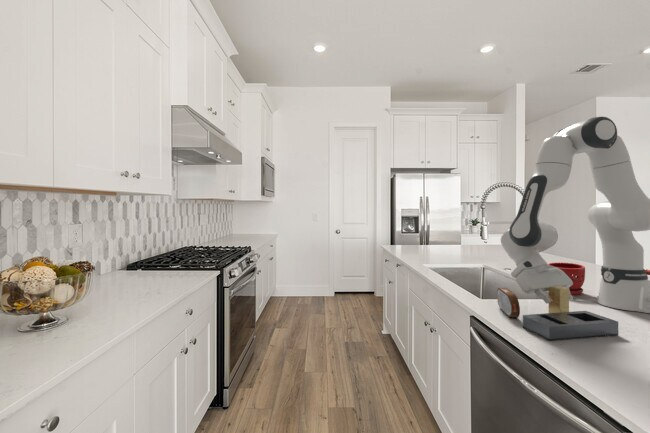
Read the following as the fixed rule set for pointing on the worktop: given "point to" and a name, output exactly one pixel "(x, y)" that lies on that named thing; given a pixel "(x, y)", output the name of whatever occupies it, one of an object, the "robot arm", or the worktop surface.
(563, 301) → the tan rectangular block
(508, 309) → the tin
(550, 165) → the robot arm
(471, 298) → the worktop surface
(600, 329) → the block
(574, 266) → the plant pot
